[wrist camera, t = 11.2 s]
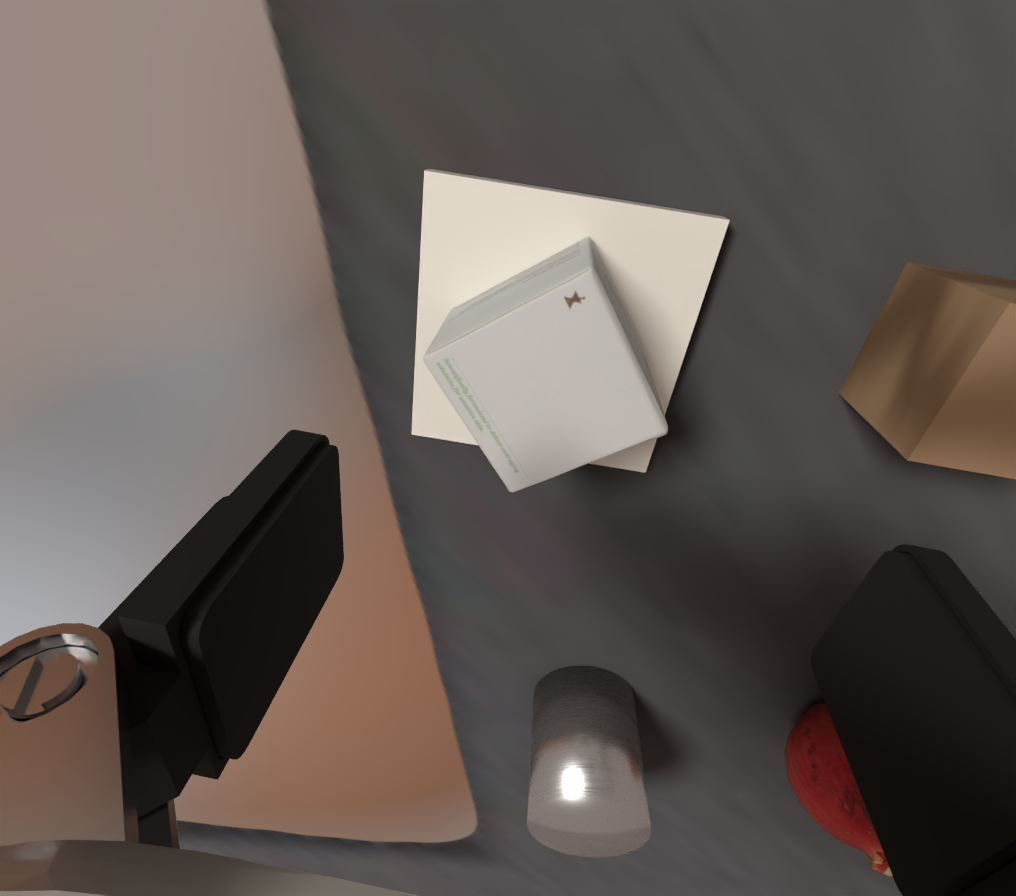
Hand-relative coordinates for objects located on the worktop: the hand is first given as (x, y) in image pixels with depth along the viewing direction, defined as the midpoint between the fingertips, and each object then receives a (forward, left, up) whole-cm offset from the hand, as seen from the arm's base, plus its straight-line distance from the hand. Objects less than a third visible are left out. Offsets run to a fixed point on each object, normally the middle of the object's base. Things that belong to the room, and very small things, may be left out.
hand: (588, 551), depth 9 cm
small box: (+1, -1, -12) cm, 12 cm away
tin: (+23, +5, -13) cm, 26 cm away
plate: (+1, -1, -13) cm, 13 cm away
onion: (+20, +18, -13) cm, 30 cm away
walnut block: (-1, +13, -13) cm, 18 cm away
